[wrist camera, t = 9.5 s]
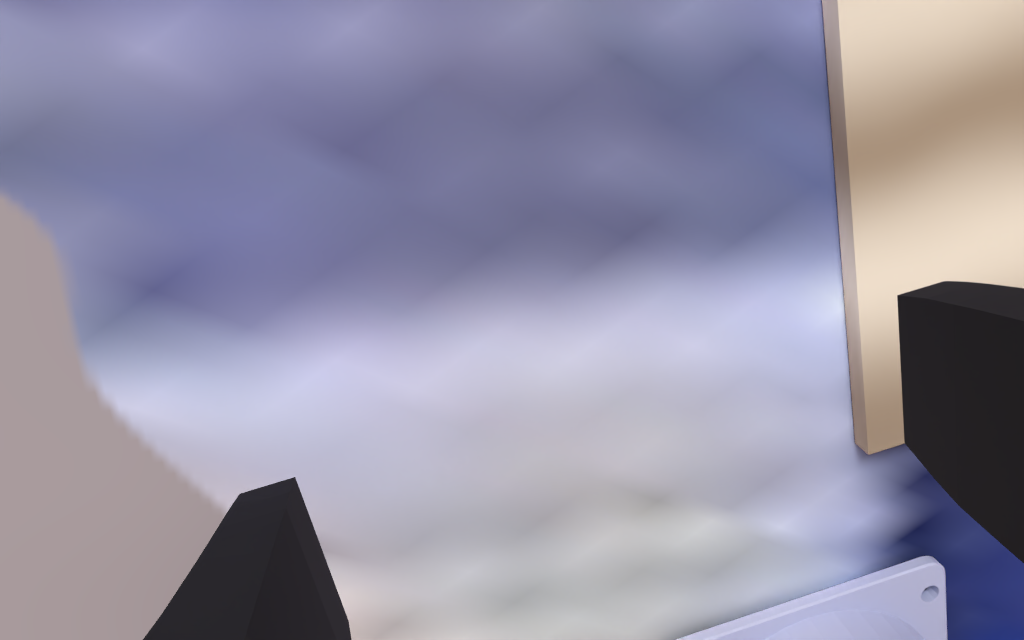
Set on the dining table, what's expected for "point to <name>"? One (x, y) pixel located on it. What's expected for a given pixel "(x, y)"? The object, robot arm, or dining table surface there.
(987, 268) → the board
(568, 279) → the dining table surface
